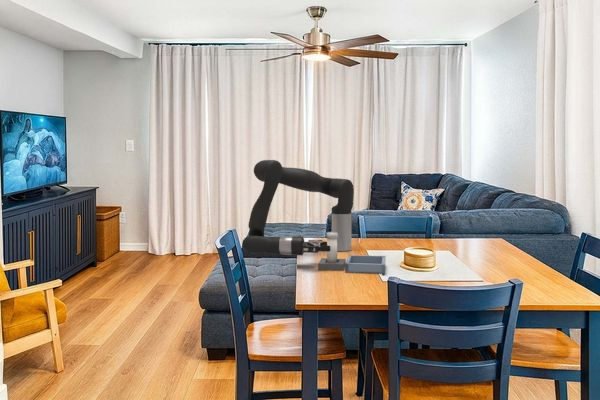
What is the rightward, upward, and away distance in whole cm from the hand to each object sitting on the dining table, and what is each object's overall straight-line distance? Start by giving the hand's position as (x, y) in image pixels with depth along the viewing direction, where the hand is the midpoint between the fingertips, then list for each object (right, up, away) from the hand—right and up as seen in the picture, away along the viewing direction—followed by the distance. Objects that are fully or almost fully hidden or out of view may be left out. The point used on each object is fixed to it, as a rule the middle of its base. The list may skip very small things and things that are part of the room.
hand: (331, 246), depth 229 cm
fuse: (0, -8, +1) cm, 9 cm away
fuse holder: (0, -9, +1) cm, 9 cm away
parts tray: (+14, -9, -1) cm, 16 cm away
